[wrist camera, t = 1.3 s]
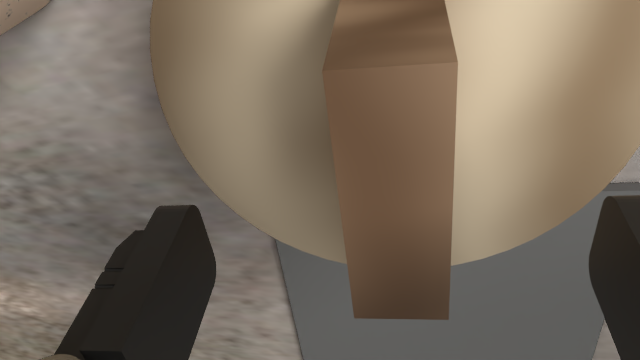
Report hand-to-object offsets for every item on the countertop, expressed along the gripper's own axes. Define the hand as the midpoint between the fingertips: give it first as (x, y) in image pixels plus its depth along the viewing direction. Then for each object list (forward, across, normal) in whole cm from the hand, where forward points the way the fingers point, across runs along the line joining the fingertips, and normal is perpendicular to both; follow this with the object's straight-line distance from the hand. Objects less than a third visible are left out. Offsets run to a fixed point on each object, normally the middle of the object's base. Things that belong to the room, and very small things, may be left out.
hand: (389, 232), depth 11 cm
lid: (+7, 0, 0) cm, 7 cm away
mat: (+13, -2, +17) cm, 22 cm away
